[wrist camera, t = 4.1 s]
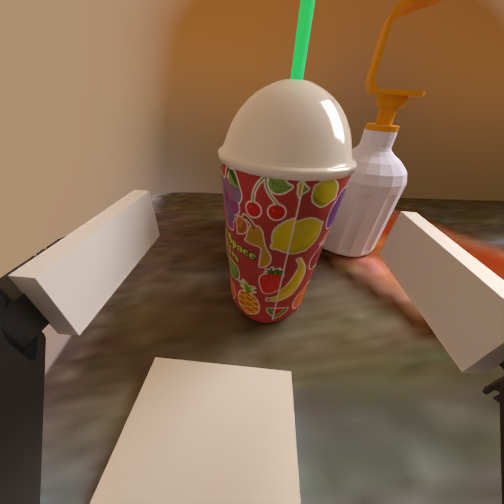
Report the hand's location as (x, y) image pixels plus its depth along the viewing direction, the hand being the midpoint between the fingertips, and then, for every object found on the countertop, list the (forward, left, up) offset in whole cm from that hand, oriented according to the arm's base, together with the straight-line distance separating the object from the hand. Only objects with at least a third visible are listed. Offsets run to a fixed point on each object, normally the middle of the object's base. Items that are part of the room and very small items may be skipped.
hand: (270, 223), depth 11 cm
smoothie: (-1, -4, -11) cm, 12 cm away
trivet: (+2, +8, -11) cm, 14 cm away
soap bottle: (-12, -17, -11) cm, 23 cm away
